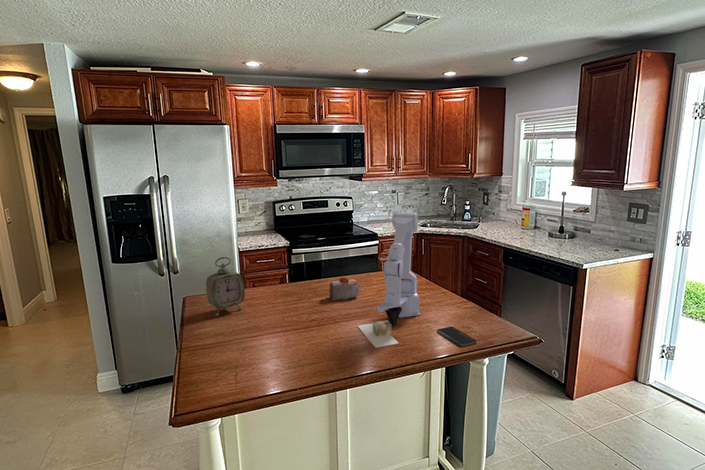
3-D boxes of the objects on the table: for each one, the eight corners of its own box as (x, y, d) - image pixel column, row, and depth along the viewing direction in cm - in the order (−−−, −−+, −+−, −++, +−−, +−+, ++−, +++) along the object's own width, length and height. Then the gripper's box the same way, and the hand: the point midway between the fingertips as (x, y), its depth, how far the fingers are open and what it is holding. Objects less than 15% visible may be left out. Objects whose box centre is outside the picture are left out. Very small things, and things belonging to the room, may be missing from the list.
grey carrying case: (354, 293, 205) (354, 274, 203) (360, 298, 197) (360, 278, 196) (328, 297, 200) (327, 277, 198) (333, 302, 192) (333, 282, 191)
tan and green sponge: (387, 320, 159) (372, 322, 157) (391, 324, 155) (376, 326, 153) (387, 329, 159) (373, 332, 158) (391, 334, 156) (376, 336, 154)
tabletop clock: (214, 318, 175) (210, 261, 170) (206, 313, 181) (201, 258, 177) (246, 310, 184) (242, 256, 179) (237, 305, 191) (233, 252, 186)
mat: (378, 323, 167) (378, 322, 167) (398, 344, 148) (398, 343, 148) (357, 326, 164) (357, 325, 164) (375, 347, 145) (375, 346, 145)
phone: (460, 345, 145) (435, 329, 158) (460, 348, 145) (435, 332, 158) (478, 341, 148) (452, 326, 161) (478, 344, 148) (452, 328, 161)
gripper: (398, 285, 163) (398, 317, 165) (371, 293, 153) (372, 327, 156) (411, 289, 157) (411, 322, 160) (385, 297, 148) (385, 333, 151)
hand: (392, 325), depth 157 cm, fingers closed
